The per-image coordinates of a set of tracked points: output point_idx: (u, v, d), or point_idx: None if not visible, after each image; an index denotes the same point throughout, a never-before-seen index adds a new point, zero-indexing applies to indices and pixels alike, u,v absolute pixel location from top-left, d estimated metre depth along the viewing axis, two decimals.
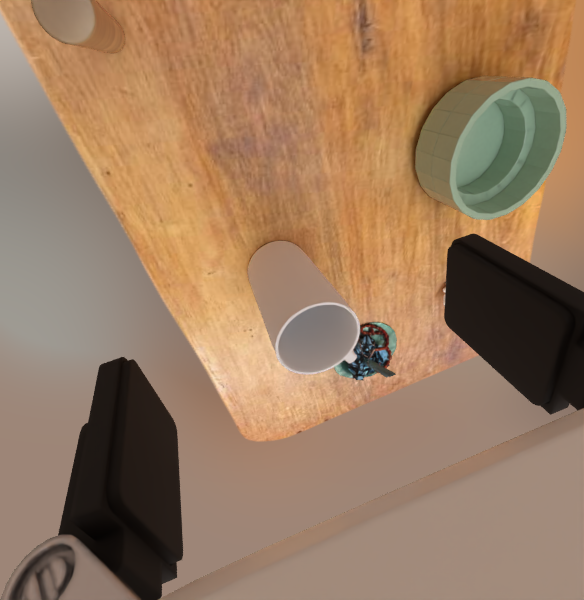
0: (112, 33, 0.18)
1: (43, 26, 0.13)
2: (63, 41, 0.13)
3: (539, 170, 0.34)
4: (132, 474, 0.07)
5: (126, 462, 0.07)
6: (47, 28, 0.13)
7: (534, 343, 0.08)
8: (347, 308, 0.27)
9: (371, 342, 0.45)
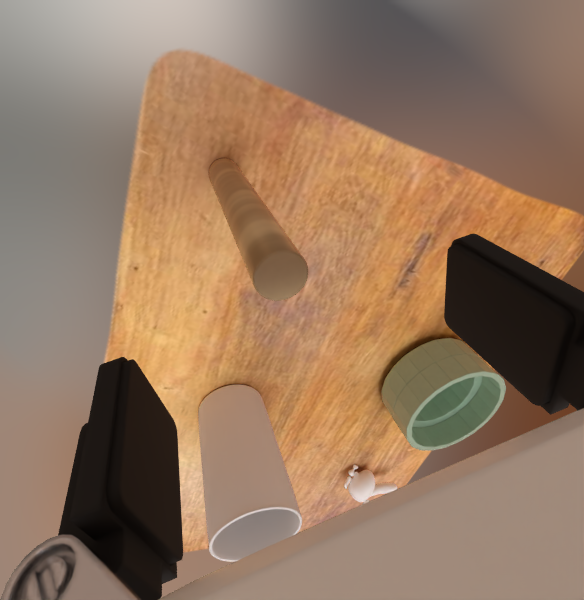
0: None
1: (254, 279, 0.13)
2: (260, 294, 0.13)
3: (466, 428, 0.41)
4: (132, 474, 0.07)
5: (126, 462, 0.07)
6: (257, 282, 0.13)
7: (534, 343, 0.08)
8: (299, 516, 0.26)
9: None
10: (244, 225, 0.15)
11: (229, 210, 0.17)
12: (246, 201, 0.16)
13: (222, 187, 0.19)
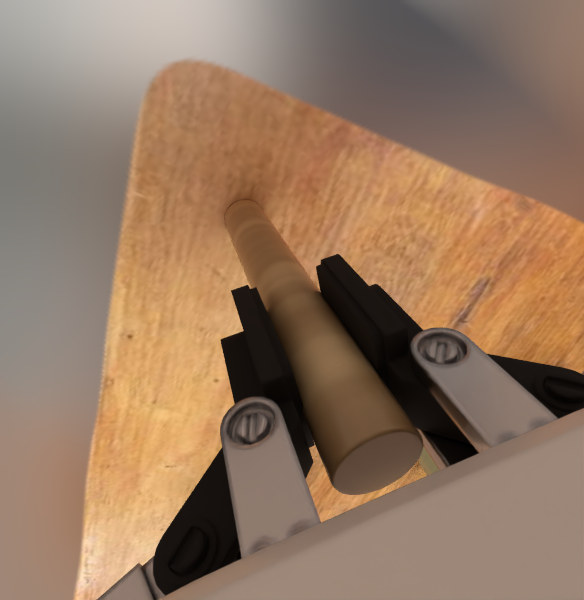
0: None
1: (334, 475, 0.07)
2: (340, 491, 0.07)
3: None
4: None
5: None
6: (337, 479, 0.07)
7: None
8: None
9: None
10: (297, 340, 0.09)
11: (265, 298, 0.11)
12: (292, 288, 0.11)
13: (249, 251, 0.14)
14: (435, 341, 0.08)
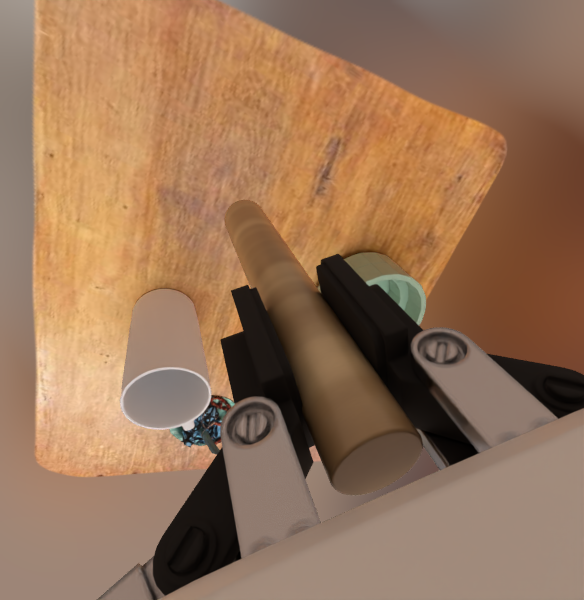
0: None
1: (334, 475, 0.07)
2: (340, 491, 0.07)
3: None
4: None
5: None
6: (337, 479, 0.07)
7: None
8: (206, 383, 0.29)
9: (215, 415, 0.47)
10: (296, 341, 0.09)
11: (264, 298, 0.11)
12: (291, 288, 0.11)
13: (248, 251, 0.14)
14: (435, 341, 0.08)
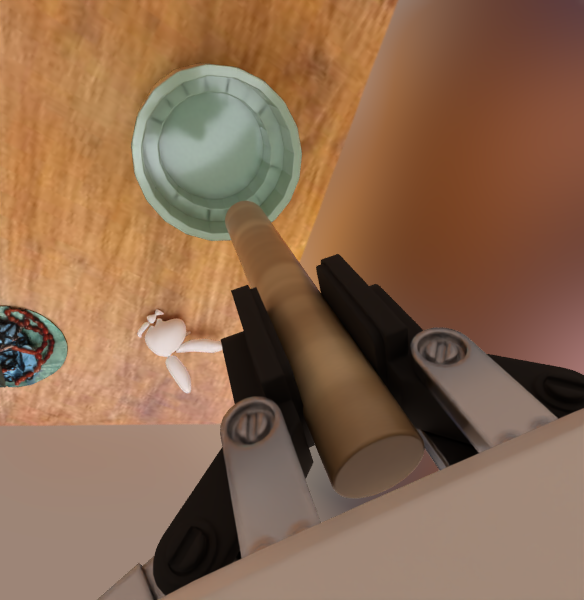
0: None
1: (335, 479, 0.07)
2: (341, 494, 0.07)
3: (265, 214, 0.28)
4: None
5: None
6: (339, 483, 0.07)
7: None
8: None
9: (13, 335, 0.32)
10: (298, 343, 0.09)
11: (265, 299, 0.11)
12: (292, 290, 0.11)
13: (249, 252, 0.14)
14: (435, 341, 0.08)
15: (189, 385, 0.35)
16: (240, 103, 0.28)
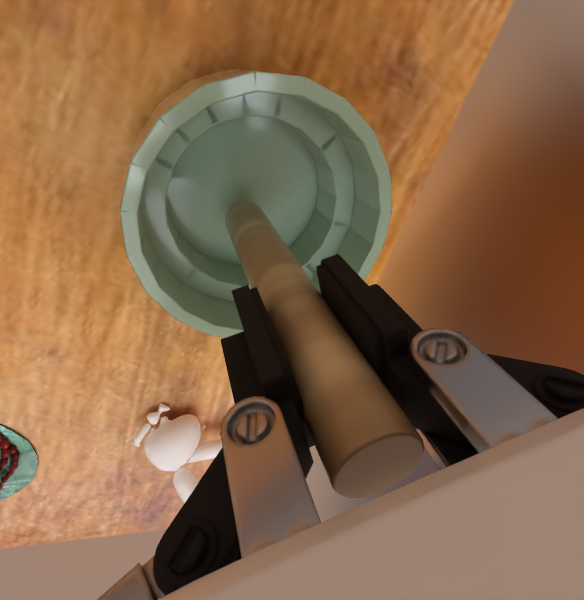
0: None
1: (335, 478, 0.07)
2: (341, 494, 0.07)
3: None
4: None
5: None
6: (338, 482, 0.07)
7: None
8: None
9: None
10: (298, 343, 0.09)
11: (265, 299, 0.11)
12: (292, 290, 0.11)
13: (249, 253, 0.14)
14: (435, 341, 0.08)
15: None
16: (289, 129, 0.18)
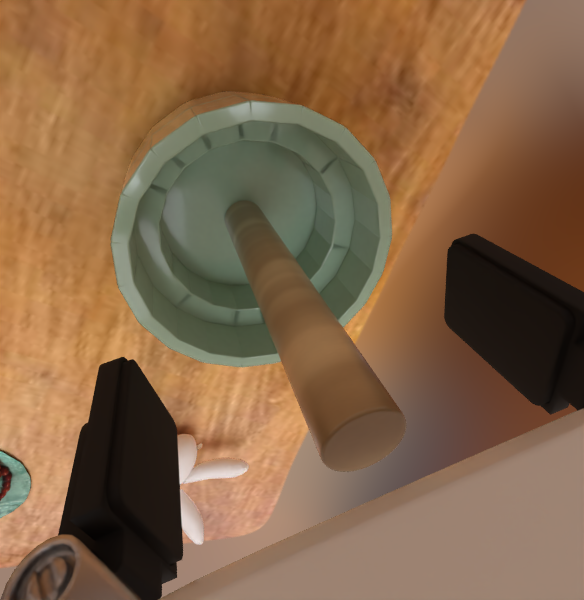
0: None
1: (324, 451, 0.08)
2: (330, 467, 0.08)
3: None
4: (132, 474, 0.07)
5: (126, 462, 0.07)
6: (327, 455, 0.08)
7: (534, 343, 0.08)
8: None
9: None
10: (292, 331, 0.10)
11: (262, 293, 0.12)
12: (287, 283, 0.12)
13: (247, 249, 0.14)
14: None
15: (201, 534, 0.25)
16: (287, 150, 0.18)
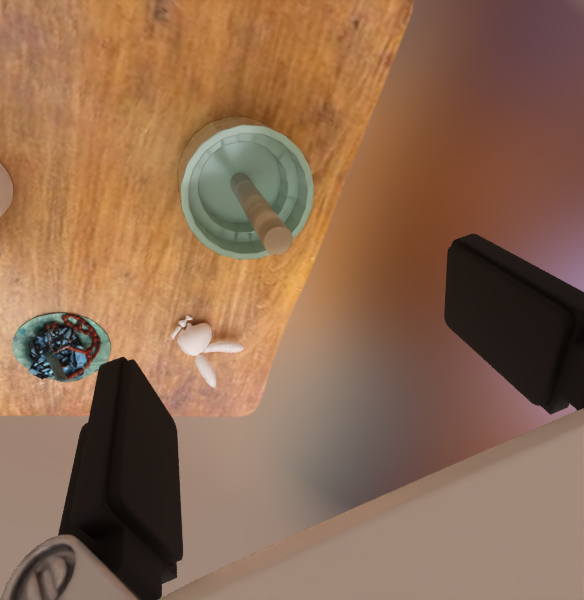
0: None
1: (264, 242, 0.24)
2: (267, 250, 0.24)
3: None
4: (132, 474, 0.07)
5: (126, 462, 0.07)
6: (265, 243, 0.24)
7: (534, 343, 0.08)
8: None
9: (69, 337, 0.38)
10: (257, 214, 0.26)
11: (247, 207, 0.28)
12: (257, 201, 0.28)
13: (241, 193, 0.30)
14: None
15: (215, 380, 0.41)
16: (263, 146, 0.34)
